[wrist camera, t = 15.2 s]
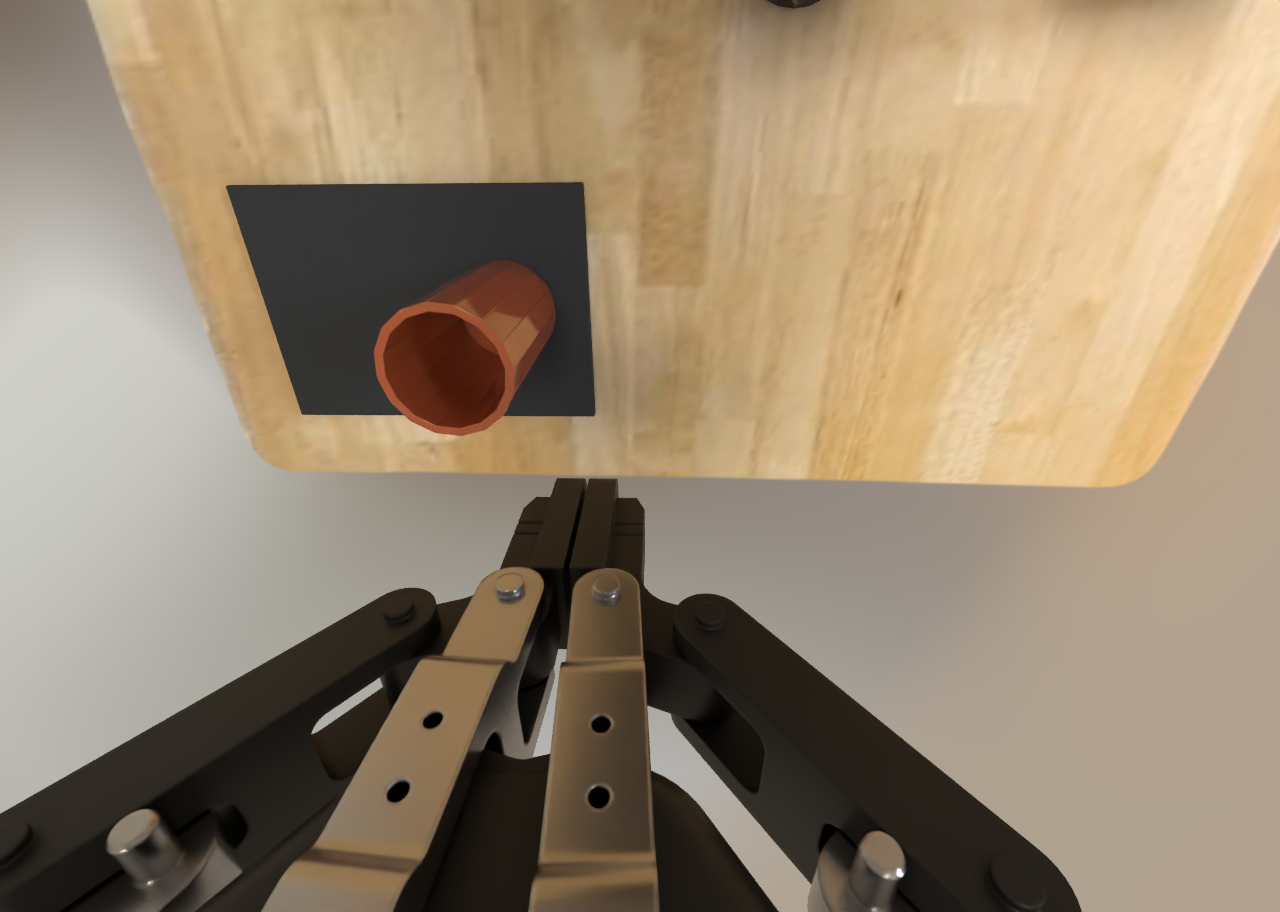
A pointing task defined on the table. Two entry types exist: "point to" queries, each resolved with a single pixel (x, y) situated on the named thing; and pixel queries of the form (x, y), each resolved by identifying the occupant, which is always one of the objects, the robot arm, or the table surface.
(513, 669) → the robot arm
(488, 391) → the cup
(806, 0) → the deodorant
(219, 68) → the table surface
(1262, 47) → the table surface
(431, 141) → the table surface
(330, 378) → the mat
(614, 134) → the table surface
